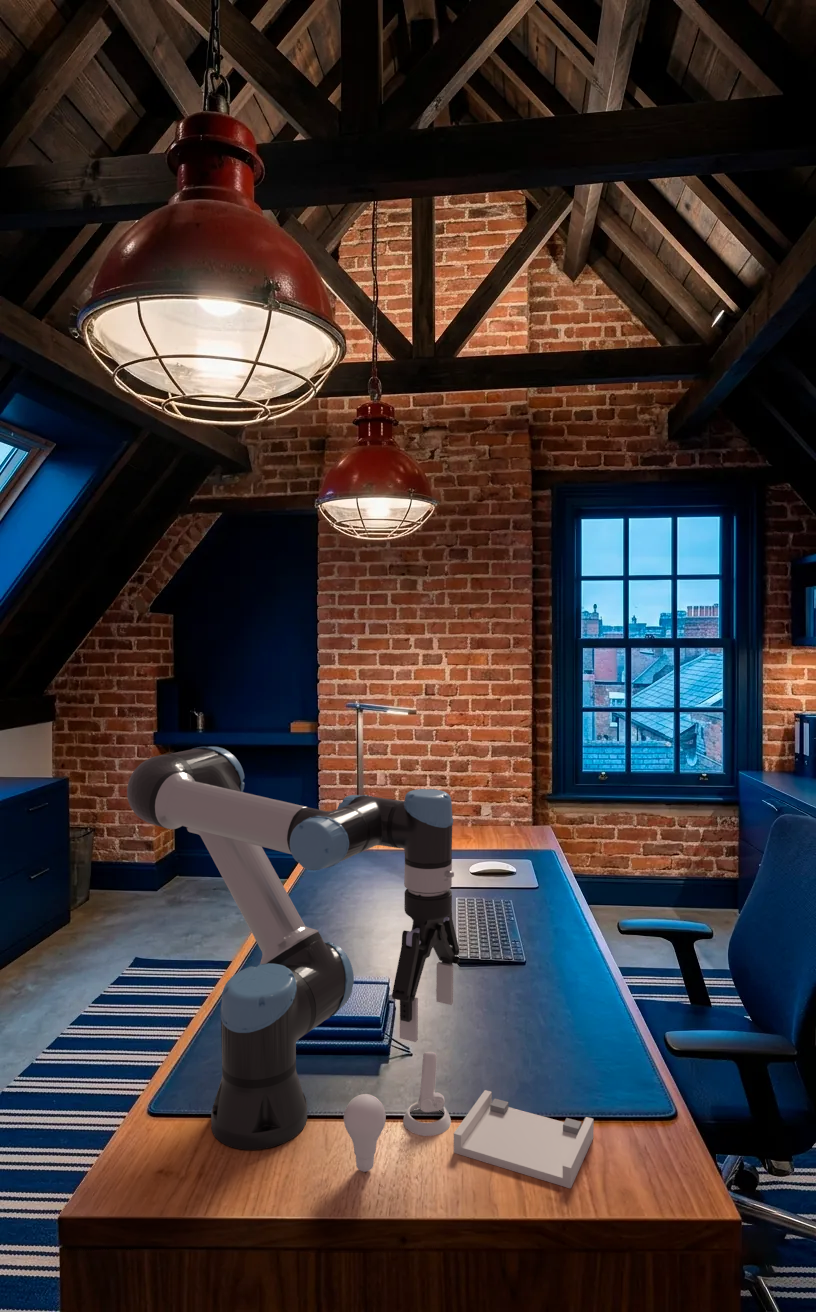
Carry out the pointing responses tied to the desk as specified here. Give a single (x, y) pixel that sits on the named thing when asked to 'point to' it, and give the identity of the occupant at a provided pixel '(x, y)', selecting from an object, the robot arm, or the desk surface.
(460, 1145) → the panel
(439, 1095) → the hook
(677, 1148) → the desk surface
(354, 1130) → the lightbulb
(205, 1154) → the desk surface
